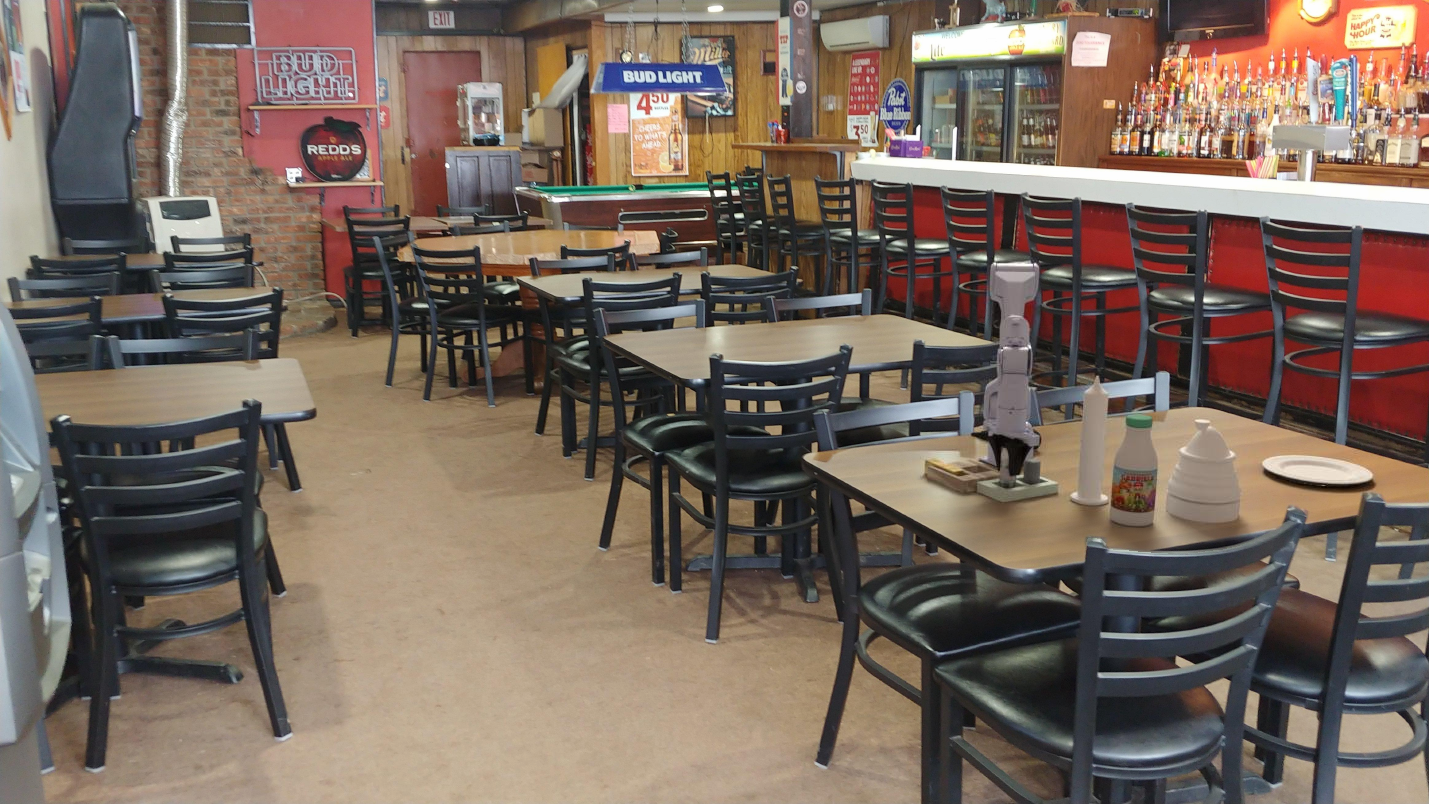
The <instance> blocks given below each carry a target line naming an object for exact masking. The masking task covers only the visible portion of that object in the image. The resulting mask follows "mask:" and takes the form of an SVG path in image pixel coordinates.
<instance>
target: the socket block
mask: <svg viewBox="0 0 1429 804" xmlns="http://www.w3.org/2000/svg"><path fill="white" fill-rule="evenodd" d="M946 463H947V462H946ZM947 464H949V465H952V466H954V467H957V468H959V469H962V470H964V473H963V476H959V477H958V476H956V475H953V474H951V473H949V472H946V471H944V470H941V469H939V468H936V467H934V466H928V475H927V479H930V480H932V481H934V482H937V483H939V484H941V485H944V486H946V487H948V488H951V489H952V490H955V491H958V492H961V493H962V494H965V493H970V492H977V482H981V481H987V480H993V479H999V478H1000V471H998V470H997V468H996V469H995V468H992V467H990V466H988V465H985V464H984V463H980V462H978V461H974V460H972V459H965V460H959V461H954V462H948V463H947Z"/></svg>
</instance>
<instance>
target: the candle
mask: <svg viewBox="0 0 1429 804" xmlns="http://www.w3.org/2000/svg"><path fill="white" fill-rule="evenodd" d="M1109 395H1110V394H1109V391H1107V390H1105V389H1104V388H1103V387H1102V384H1101V381H1100V376H1099V375H1096V376H1095V379H1094V383H1093V384H1092V386H1090V387H1089V388H1088V389H1086V390H1085V391H1084V392H1083V405H1082V417H1081V431H1080V432H1081V433H1080V434H1081V435H1080V446H1079V447H1080V449H1079V463H1078V464H1079V465H1078V478H1077V480H1078V481H1077V491H1074V492H1072V493H1070V496H1069V499H1070V501H1072V502H1073V503H1076V504H1078V505H1079V504H1080V505H1084V506H1102V505H1106V504H1108V501H1109V496H1107V495H1105V494H1103V492H1102V490H1103V481H1104V479H1103V477H1104V467H1105V465H1104V464H1105V453H1106V449H1105V448H1106V436H1107V424H1108V422H1107V421H1108V409H1109V408H1108V407H1109Z"/></svg>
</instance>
